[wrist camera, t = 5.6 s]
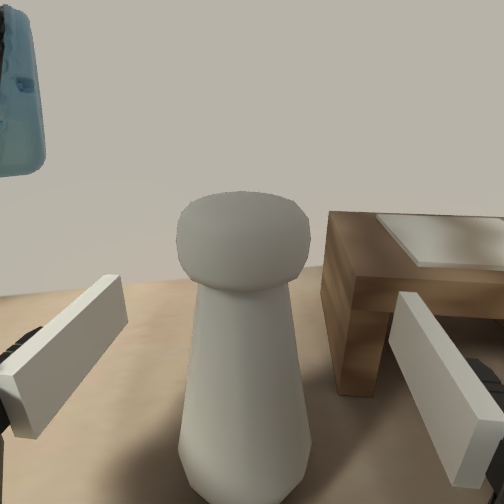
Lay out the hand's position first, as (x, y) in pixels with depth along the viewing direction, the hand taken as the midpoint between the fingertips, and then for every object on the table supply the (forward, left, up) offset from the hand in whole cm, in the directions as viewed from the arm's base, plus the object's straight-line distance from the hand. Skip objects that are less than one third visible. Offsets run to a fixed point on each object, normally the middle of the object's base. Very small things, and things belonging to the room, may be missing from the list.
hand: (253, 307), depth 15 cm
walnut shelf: (+13, +8, -7) cm, 17 cm away
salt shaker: (0, -3, -7) cm, 8 cm away
